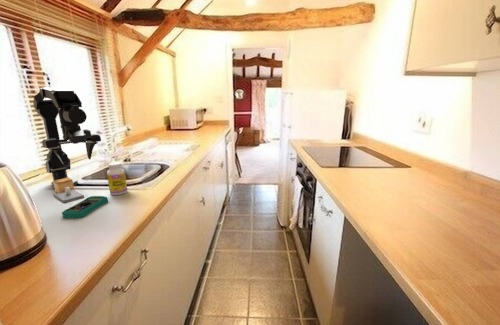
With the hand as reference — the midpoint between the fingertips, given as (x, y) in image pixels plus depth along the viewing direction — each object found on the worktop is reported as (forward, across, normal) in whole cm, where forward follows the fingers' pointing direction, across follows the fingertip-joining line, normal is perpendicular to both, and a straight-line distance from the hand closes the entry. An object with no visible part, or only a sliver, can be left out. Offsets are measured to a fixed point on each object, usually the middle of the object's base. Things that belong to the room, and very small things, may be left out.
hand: (77, 161), depth 103 cm
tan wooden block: (+15, -3, +13) cm, 20 cm away
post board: (+14, -4, +3) cm, 15 cm away
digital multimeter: (+15, -5, -17) cm, 23 cm away
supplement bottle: (+15, +10, -10) cm, 20 cm away
